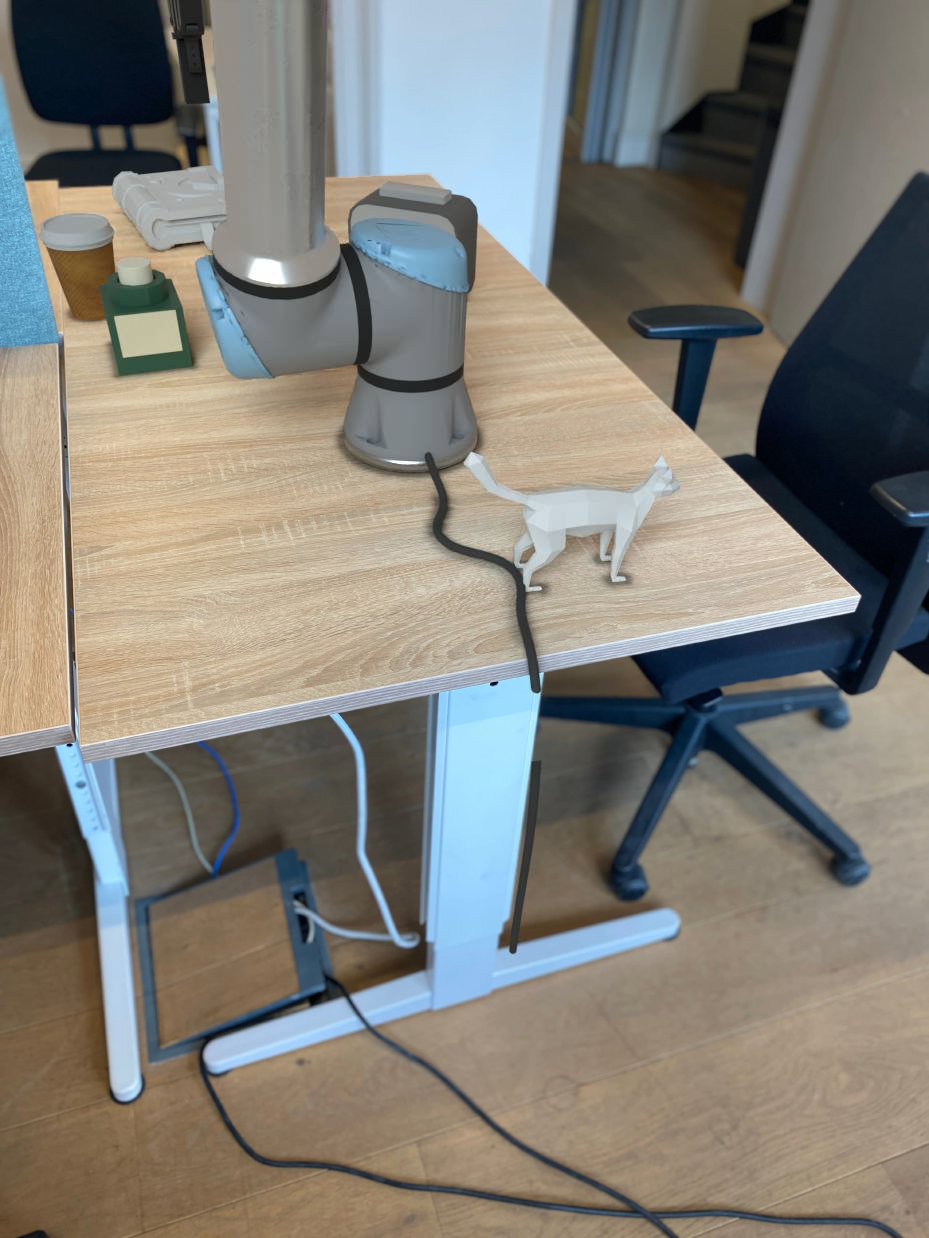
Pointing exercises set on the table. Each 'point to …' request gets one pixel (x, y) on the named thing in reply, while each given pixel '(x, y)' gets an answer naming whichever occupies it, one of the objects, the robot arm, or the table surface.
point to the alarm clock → (424, 213)
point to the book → (173, 204)
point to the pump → (134, 271)
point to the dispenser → (144, 301)
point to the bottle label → (148, 333)
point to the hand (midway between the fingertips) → (197, 102)
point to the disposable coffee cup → (81, 259)
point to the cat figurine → (578, 514)
